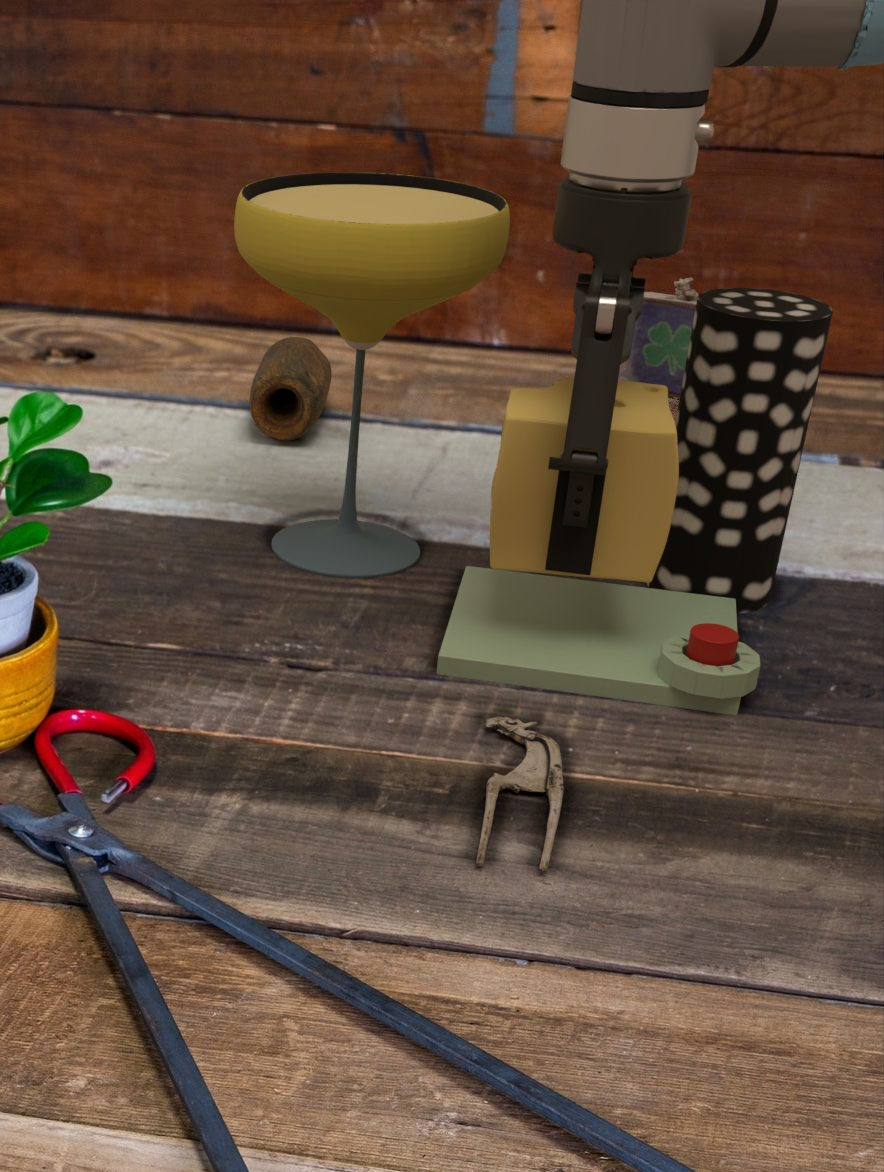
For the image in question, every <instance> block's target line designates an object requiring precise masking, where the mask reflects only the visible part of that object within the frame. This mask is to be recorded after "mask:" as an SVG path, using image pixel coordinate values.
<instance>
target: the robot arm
mask: <svg viewBox="0 0 884 1172" xmlns="http://www.w3.org/2000/svg"><path fill="white" fill-rule="evenodd" d="M581 2H582V3H581V10H580V19H579V25H578V36H577V43H576V51H575V61H574V68H573V75H572V84H571V92H570V93H569V95H568V99H567V108H566V116H565V122H564V123H565V125H564V133H563V141H562V148H561V150H562V151H561V156H560V165H561V167H562V168H563V169H564V170H565V171H567V172H568V173H569V175H567V176H565V177H564V178H563V179H562V181H560V182H559V183H558V185H557V193H556V201H555V210H554V217H553V225H552V231H551V232H552V238H553V239H552V240H553V241H554V242H555V244H557V245H558V246H559V247H561V248H562V249H564V250H567V251H569V252H573V253H576V254H587V255H589V256H590V257H592V259H591V261H592V263H593V265H592V270H591V272H578V276H577V281H576V283H575V289H574V295H573V301H572V302H573V304H572V309H573V311H572V312H573V313H574V315H575V317H574V325H573V332H572V338H571V345H570V352H571V356H572V357H573V358H574V359H575V360H576V365H575V371H574V376H573V378H574V383H573V390H572V397H571V404H570V411H569V418H568V424H567V431H566V438H565V445H564V452H563V453H562V455H560V458H557V457H550V459H549V467H548V469H552V470H559V473H558V480H557V488H556V495H555V502H554V509H553V516H552V523H551V530H550V538H549V545H548V552H547V559H546V566H545V570H551V571H559V572H567V573H575V574H583V575H590V574H591V567H592V561H593V554H594V548H595V541H596V535H597V528H598V522H599V515H600V509H601V502H602V496H603V490H604V483H605V477H606V470H607V468H608V461H609V460H607V458H606V456H607V450H608V443H609V437H610V430H611V423H612V417H613V410H614V404H615V397H616V391H617V384H618V377H619V372H620V366H621V364H622V363H624V362H626V361H627V360H628V359H629V357H630V353H631V347H632V341H633V334H634V328H635V322H636V320H637V319H638V318H639V317H640V314H641V310H642V304H643V298H644V292H646V291H645V290H646V287H645V286H646V279H647V277H643V276H642V277H640V276H634V269H635V267H636V266H637V264H638V260H640V259H649V260H656V259H662V258H668V257H670V256H673V255H675V254H677V253H678V252H680V250H682V248H683V247H684V244H685V240H686V233H687V227H688V221H689V214H690V210H691V205H692V204H691V203H692V197H693V191H691V189H690V187H689V185H688V184H686V183H685V182H683V180H687V179H689V178H690V177H692V176H693V175H694V174H695V171H696V165H697V159H698V153H699V149H700V148H699V147H700V146H699V144H698V142H697V140H709V139H711V138H712V137H713V136H714V133H715V128H714V123H713V122H712V121H710V120H701V118H702V117H704V114H705V113H706V104H707V103H708V101H709V94H710V88H711V83H712V79H713V74H714V69H715V67H716V68H729V69H730V68H736V67H785V68H786V67H790V68H791V67H795V68H796V67H797V68H836V70H838V71H845V70H847V69H848V68H851V67H852V68H853V67H861V66H876V65H882V64H884V0H582V1H581ZM575 448H584V449H593V450H596V451H597V452H598V453H597V452H588V451H579V450H573V449H575ZM572 450H573V452H572Z"/></svg>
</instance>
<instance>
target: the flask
mask: <svg viewBox="0 0 884 1172" xmlns="http://www.w3.org/2000/svg"><path fill="white" fill-rule="evenodd" d="M693 281H694V278H693V277H685V278H684V279H683V278H679V280H678V281H676V280H674V282H673V286H674V287H676V288H675V292H674V294H667V293H661V292H654V291H644V298H643V304H642V310H641V314H640V317H639V318H638V319H637V320H636V322H635V328H634V334H633V341H632V347H631V353H630V357H629V359H628V360H627V361H626V362H624V363H622V364H621V365H620V371H619V377H618V380H626V381H632V382H641V383H647V384H656V385H664V386H666V387H667V388H668V397H671V398H673V399H676V400H677V399H680V393H681V388H682V382H683V376H684V371H685V365H686V360H687V354H688V348H689V343H690V337H691V332H692V326H693V320H694V315H695V309H696V304H697V298H698V295H699V293H698V292H697V291H696V290H695V289H693V288H691V286H690V285H691V282H693Z"/></svg>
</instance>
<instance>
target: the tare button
mask: <svg viewBox="0 0 884 1172" xmlns="http://www.w3.org/2000/svg"><path fill="white" fill-rule="evenodd" d="M739 639H740V635H739V632H738V633H737V632H736V631H735V630H733V629H731V628H729V627H727V626H723V625H719V624H712V623H703V624H697V625H695V626H693V627H692V628H691V631H690V636H689V641H688V647H687V652H686V656H687V657H688V658H689V659H690V660H693V661H695V662H698V663H701V664H704V665H711V666H726V665H733V663H734V660H735V655H736V650H737V645H738V641H739Z"/></svg>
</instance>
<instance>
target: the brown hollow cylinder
mask: <svg viewBox="0 0 884 1172" xmlns="http://www.w3.org/2000/svg"><path fill="white" fill-rule="evenodd" d="M332 378H333V377H332V366H331V363H330V361H329V358H328V357H327V356H326V354H325V353H324V352H323V351H322V350H321V349H320V348H319V347H318V345H317V344H316V343H314V342H313V341H312V340H311V339H308V338H306V337H300V336H289V337H285V338H282V339H280V340H278V341H276V342H275V343H273V344H271V345H270V347H269V348H268V349H267V350H266V352H265V353H264V355H263V357H262V359H261V361H260V363H259V366H258V368H257V370H256V372H255V374H254V376H253V379H252V382H251V386H250V390H249V412H250V416H251V419H252V420H253V422H254V425H255V427H257V429H258V430H259V431H260V432H261V433H263V434H264V435H266V436H268V437H271V438H273V439H276V440H278V441H285V442H287V441H292V440H296V439H298V438H300V437H301V436H303V435H305V434H306V433H307V432H308V431H309V430H310V429H311V428H313V426H314V425H315V424H316V423H317V421H318V420H319V418H320V417H321V414H322V413H323V410H324V407H325V404H326V402H327V398H328V395H329V391H330V387H331V382H332Z"/></svg>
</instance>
